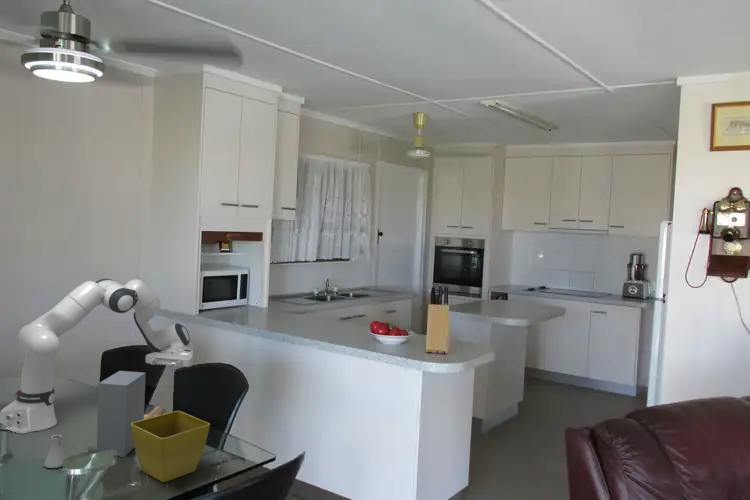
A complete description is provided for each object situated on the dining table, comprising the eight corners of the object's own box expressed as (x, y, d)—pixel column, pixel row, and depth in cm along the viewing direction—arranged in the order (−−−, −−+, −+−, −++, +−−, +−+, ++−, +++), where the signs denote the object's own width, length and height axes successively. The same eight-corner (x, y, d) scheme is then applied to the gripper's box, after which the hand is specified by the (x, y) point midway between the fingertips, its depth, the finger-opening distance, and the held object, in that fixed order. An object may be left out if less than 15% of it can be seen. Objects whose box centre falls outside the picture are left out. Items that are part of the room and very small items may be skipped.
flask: (57, 471, 199) (58, 442, 199) (38, 468, 201) (39, 439, 200) (72, 462, 206) (73, 434, 206) (54, 459, 208) (54, 431, 207)
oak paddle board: (124, 429, 238) (124, 424, 238) (147, 410, 260) (147, 405, 260) (154, 431, 237) (154, 426, 237) (174, 412, 259) (175, 407, 259)
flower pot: (127, 471, 203) (129, 422, 201) (176, 454, 218) (178, 409, 217) (160, 490, 191) (162, 439, 190) (209, 471, 206) (211, 424, 205)
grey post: (96, 454, 213) (98, 383, 211) (117, 437, 229) (119, 370, 227) (124, 457, 213) (126, 385, 211) (143, 439, 229) (145, 372, 227)
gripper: (152, 347, 275) (140, 354, 261) (196, 351, 274) (186, 358, 261) (151, 361, 275) (139, 368, 261) (196, 365, 275) (185, 373, 261)
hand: (163, 363), depth 261 cm, fingers open, 8 cm apart
